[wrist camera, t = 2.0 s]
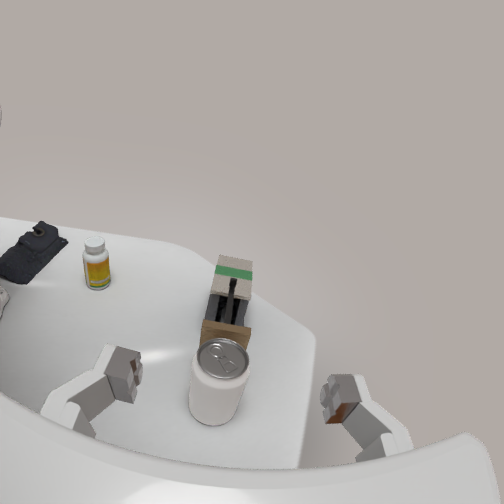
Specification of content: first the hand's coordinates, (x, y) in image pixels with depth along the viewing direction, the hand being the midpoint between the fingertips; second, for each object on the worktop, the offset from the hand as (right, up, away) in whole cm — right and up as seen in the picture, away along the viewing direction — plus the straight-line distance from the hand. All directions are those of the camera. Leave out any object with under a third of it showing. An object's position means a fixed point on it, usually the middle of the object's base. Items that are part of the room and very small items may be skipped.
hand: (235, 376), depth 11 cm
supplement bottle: (-30, -1, +39) cm, 49 cm away
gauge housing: (-4, -7, +39) cm, 40 cm away
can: (-5, -16, +23) cm, 28 cm away
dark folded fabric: (-53, +4, +39) cm, 66 cm away
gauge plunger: (-4, -9, +30) cm, 32 cm away
